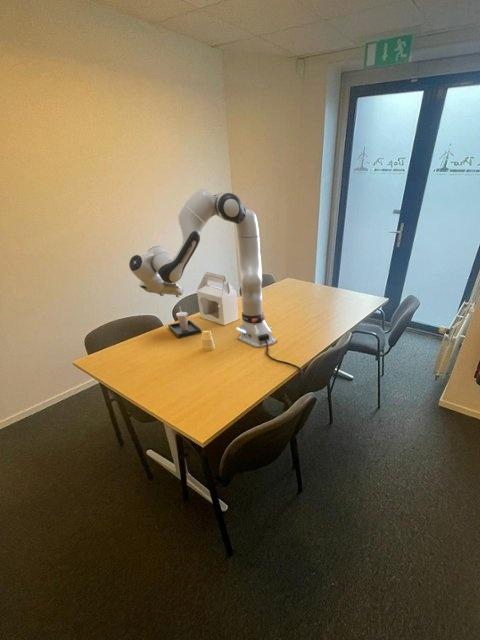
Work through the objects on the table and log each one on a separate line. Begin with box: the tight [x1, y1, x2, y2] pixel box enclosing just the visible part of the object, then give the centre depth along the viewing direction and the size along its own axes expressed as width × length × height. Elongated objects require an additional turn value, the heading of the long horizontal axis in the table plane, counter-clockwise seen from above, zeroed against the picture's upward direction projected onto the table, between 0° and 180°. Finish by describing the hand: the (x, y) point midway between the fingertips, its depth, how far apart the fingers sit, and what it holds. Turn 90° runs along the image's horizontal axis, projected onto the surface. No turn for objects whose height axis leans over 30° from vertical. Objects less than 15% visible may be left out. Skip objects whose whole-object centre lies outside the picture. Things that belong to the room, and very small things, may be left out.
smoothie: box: [175, 305, 189, 331], centre depth 172 cm, size 6×6×14 cm
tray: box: [167, 319, 202, 339], centre depth 176 cm, size 17×14×2 cm
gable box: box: [196, 271, 239, 326], centre depth 186 cm, size 22×13×28 cm, turn 55°
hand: (170, 295), depth 158 cm, fingers open, 8 cm apart
